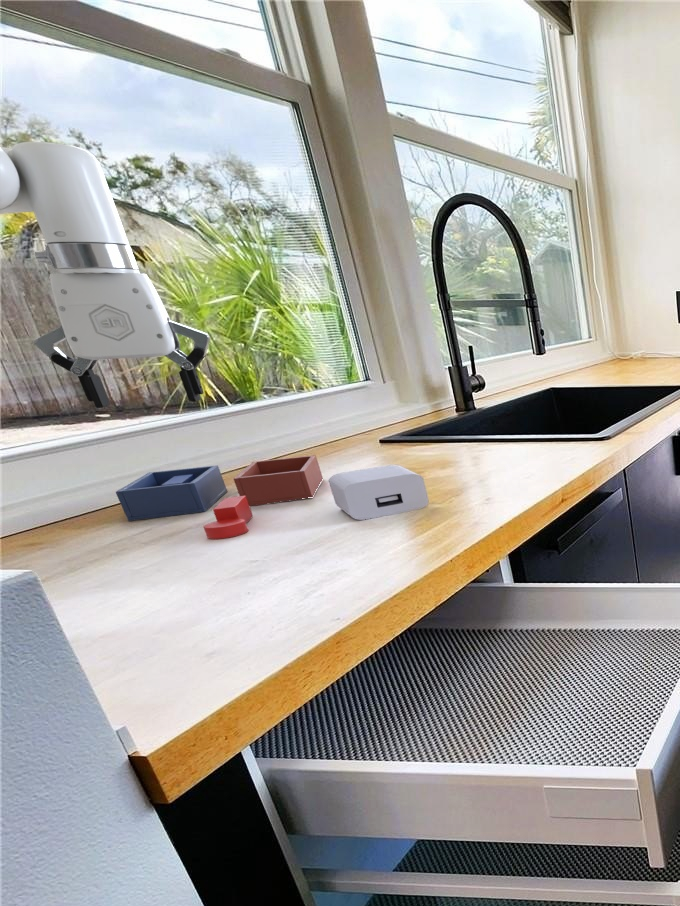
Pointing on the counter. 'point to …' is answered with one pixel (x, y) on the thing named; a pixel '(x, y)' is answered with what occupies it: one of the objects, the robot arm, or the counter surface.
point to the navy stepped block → (180, 480)
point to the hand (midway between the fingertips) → (150, 403)
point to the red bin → (279, 480)
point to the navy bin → (171, 493)
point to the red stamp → (229, 518)
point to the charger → (378, 491)
